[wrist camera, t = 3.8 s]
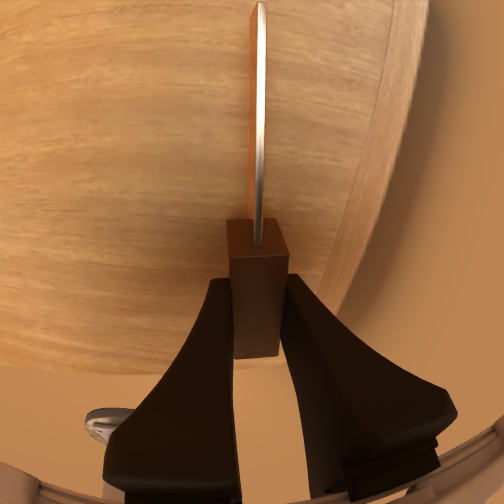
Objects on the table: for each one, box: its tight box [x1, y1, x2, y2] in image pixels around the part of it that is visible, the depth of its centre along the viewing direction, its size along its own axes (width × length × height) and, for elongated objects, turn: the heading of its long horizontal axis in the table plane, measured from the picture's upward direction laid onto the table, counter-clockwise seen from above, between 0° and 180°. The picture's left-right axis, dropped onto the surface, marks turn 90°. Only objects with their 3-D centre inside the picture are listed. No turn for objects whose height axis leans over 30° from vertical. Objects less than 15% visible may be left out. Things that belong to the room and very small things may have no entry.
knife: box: [226, 2, 290, 360], centre depth 9 cm, size 12×2×2 cm, turn 179°
